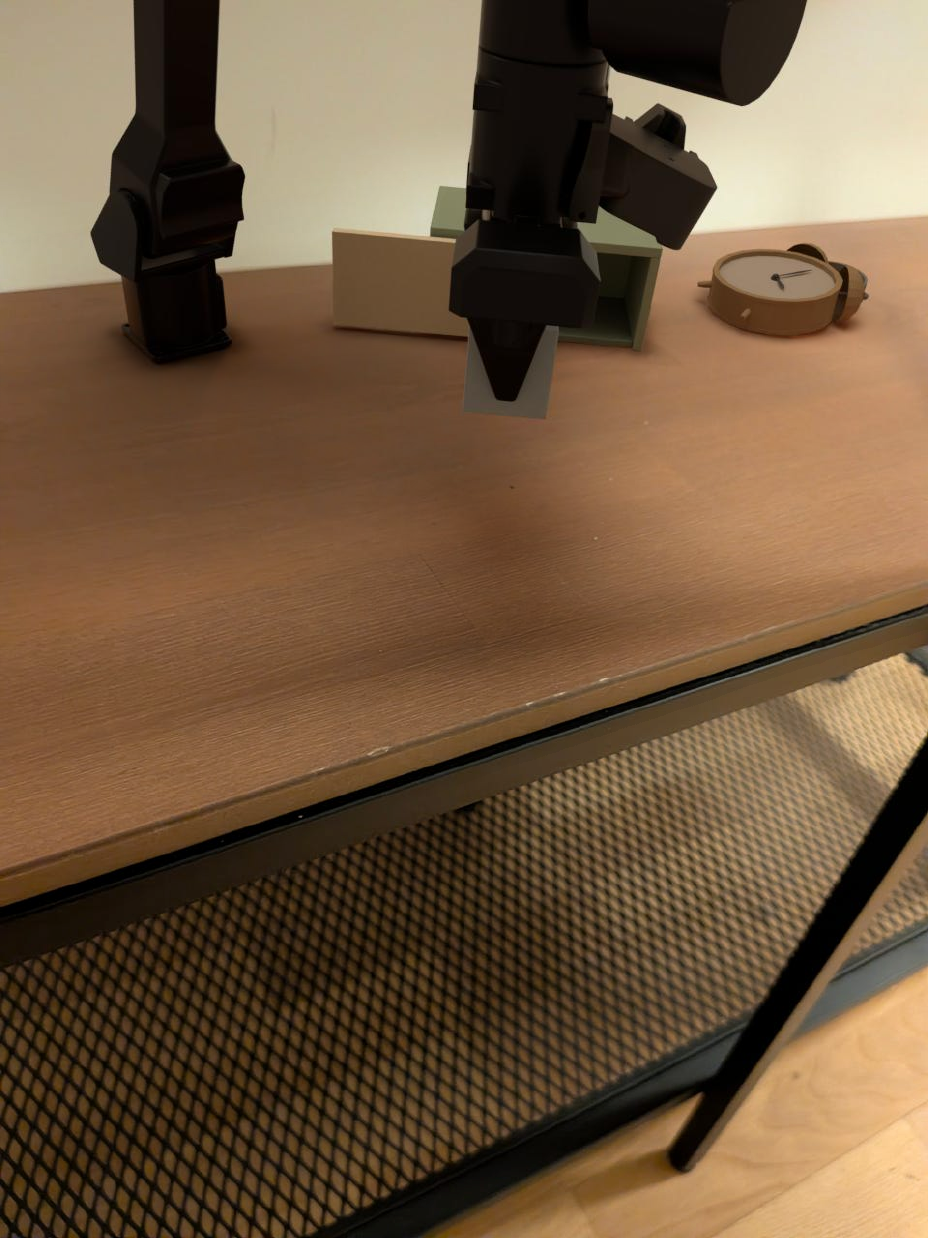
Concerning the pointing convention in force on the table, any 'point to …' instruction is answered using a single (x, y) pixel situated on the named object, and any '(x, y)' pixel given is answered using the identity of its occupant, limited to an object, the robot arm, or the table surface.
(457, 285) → the robot arm
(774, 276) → the alarm clock
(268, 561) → the table surface
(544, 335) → the block
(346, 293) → the door
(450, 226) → the cabinet
